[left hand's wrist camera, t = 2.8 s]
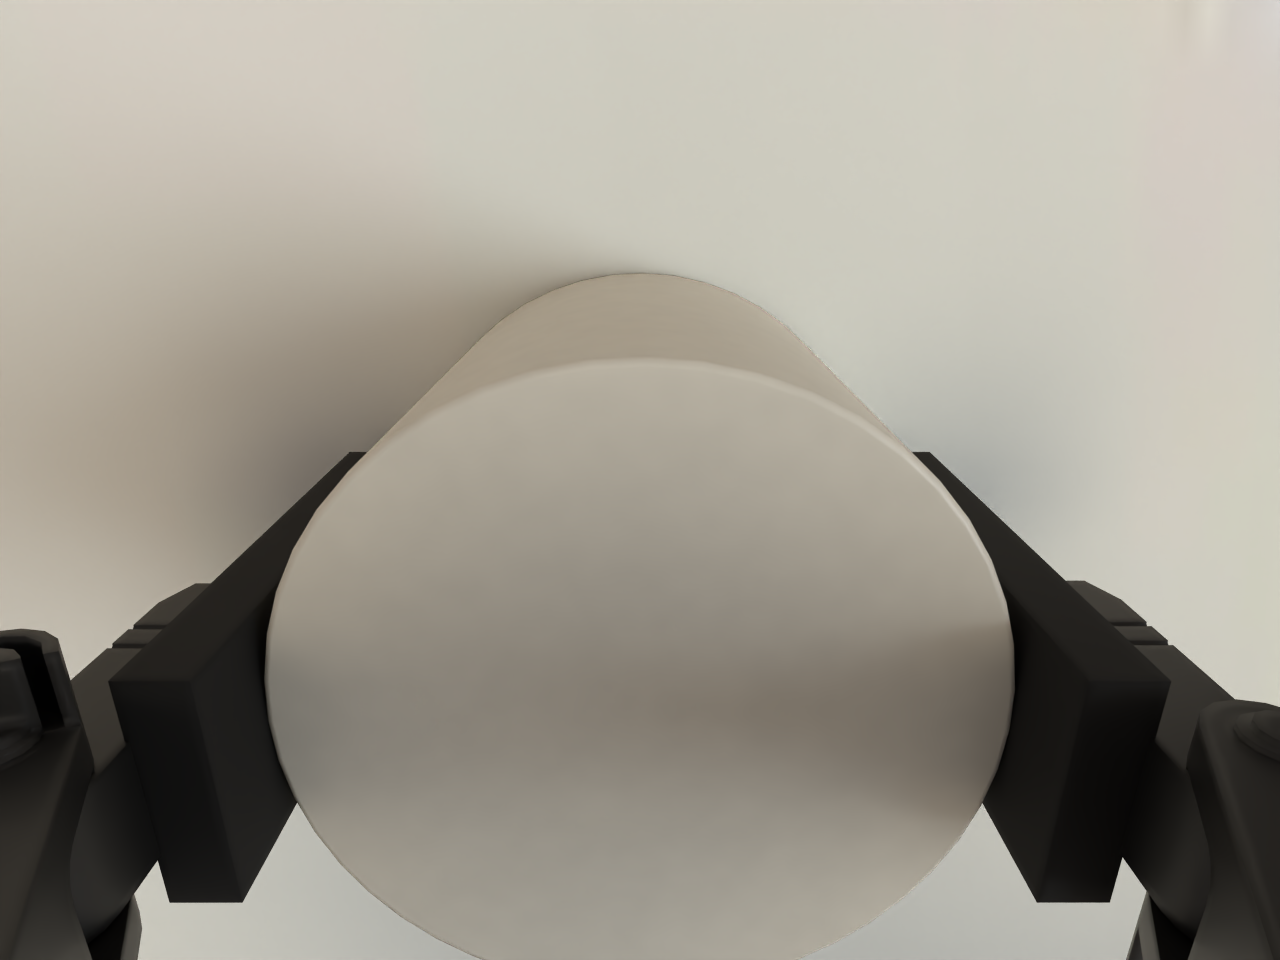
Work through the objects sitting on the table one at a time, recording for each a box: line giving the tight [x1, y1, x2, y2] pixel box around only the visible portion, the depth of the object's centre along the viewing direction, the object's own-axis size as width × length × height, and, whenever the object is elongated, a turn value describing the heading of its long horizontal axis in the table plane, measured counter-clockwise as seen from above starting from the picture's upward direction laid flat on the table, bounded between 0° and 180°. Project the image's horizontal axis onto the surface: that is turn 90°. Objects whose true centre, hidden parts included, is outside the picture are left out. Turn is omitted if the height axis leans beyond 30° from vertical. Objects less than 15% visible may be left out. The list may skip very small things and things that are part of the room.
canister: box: [264, 273, 1015, 960], centre depth 12 cm, size 8×8×7 cm
